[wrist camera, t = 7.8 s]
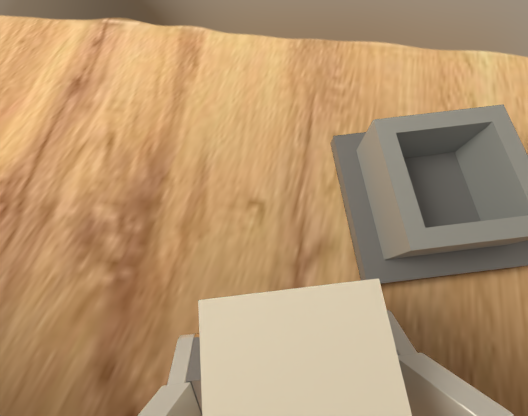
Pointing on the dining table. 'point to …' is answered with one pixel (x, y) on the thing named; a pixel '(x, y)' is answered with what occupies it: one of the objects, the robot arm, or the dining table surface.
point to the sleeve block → (301, 353)
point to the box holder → (435, 194)
